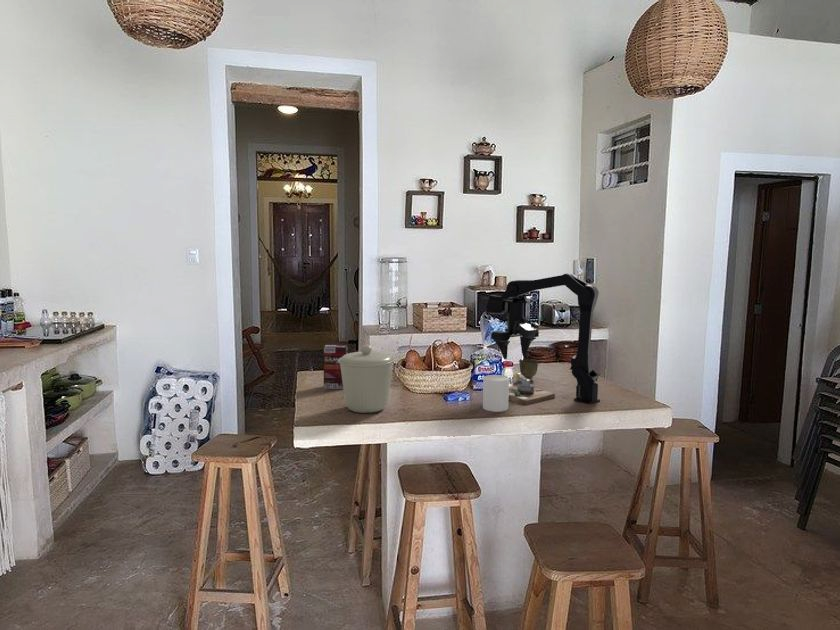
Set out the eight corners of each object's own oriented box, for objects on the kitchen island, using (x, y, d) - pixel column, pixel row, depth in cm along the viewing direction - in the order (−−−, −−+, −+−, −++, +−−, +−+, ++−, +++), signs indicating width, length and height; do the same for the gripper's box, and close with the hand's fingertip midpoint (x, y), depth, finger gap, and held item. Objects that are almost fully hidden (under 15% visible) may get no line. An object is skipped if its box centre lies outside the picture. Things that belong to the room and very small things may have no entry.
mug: (487, 381, 175) (477, 372, 186) (487, 412, 176) (476, 402, 188) (512, 380, 176) (500, 371, 188) (511, 411, 177) (500, 401, 189)
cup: (539, 382, 215) (539, 362, 214) (520, 382, 215) (520, 362, 214) (535, 378, 222) (536, 358, 221) (517, 377, 223) (517, 358, 222)
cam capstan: (537, 393, 192) (537, 379, 191) (520, 394, 190) (521, 380, 190) (524, 385, 203) (524, 372, 202) (508, 386, 201) (509, 372, 201)
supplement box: (323, 389, 204) (322, 347, 202) (325, 386, 208) (324, 344, 207) (346, 389, 204) (346, 346, 202) (348, 385, 209) (347, 344, 207)
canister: (340, 401, 188) (339, 340, 185) (393, 400, 189) (393, 339, 187) (337, 418, 170) (336, 350, 167) (395, 416, 171) (395, 349, 169)
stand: (555, 397, 194) (555, 388, 193) (525, 404, 184) (526, 395, 184) (523, 388, 206) (523, 379, 205) (493, 395, 196) (494, 385, 196)
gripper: (511, 319, 187) (510, 364, 189) (550, 315, 197) (549, 358, 199) (490, 315, 196) (489, 359, 198) (528, 312, 206) (527, 353, 208)
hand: (514, 357), depth 201 cm, fingers open, 9 cm apart
